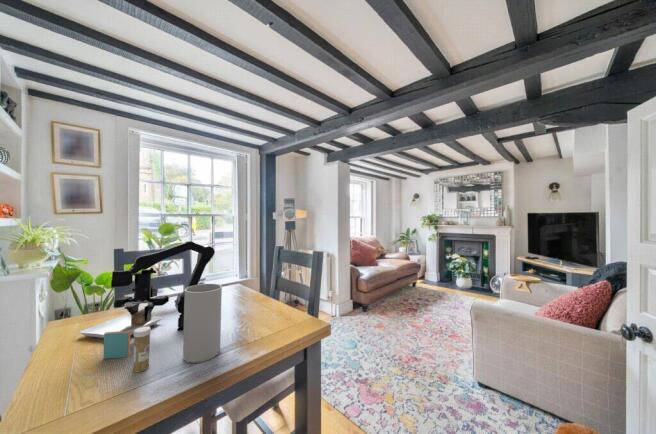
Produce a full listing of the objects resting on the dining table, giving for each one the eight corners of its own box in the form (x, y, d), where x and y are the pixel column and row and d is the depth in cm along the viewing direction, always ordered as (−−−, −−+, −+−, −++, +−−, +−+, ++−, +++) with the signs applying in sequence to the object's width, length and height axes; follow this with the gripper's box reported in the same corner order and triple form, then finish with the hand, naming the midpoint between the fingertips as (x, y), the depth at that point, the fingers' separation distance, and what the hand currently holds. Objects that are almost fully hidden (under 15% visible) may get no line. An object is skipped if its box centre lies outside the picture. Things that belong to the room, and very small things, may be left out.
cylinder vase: (195, 345, 99) (196, 283, 100) (225, 346, 99) (227, 284, 99) (174, 363, 87) (177, 292, 87) (209, 364, 86) (211, 292, 87)
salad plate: (118, 345, 99) (118, 336, 100) (77, 339, 104) (77, 331, 104) (163, 323, 120) (163, 316, 120) (127, 319, 124) (127, 313, 125)
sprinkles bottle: (145, 372, 82) (146, 331, 82) (129, 373, 80) (130, 332, 81) (152, 364, 86) (153, 325, 86) (137, 365, 85) (138, 326, 85)
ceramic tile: (130, 355, 91) (130, 330, 92) (127, 357, 90) (128, 332, 90) (105, 356, 90) (106, 332, 90) (102, 359, 89) (103, 333, 89)
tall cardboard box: (154, 319, 109) (154, 308, 110) (136, 332, 97) (136, 320, 97) (139, 320, 108) (139, 309, 109) (119, 333, 96) (119, 320, 96)
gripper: (174, 279, 115) (174, 313, 114) (130, 280, 112) (129, 315, 112) (162, 285, 104) (161, 323, 103) (113, 287, 101) (111, 325, 101)
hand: (141, 321), depth 105 cm, fingers closed on tall cardboard box, 3 cm apart
